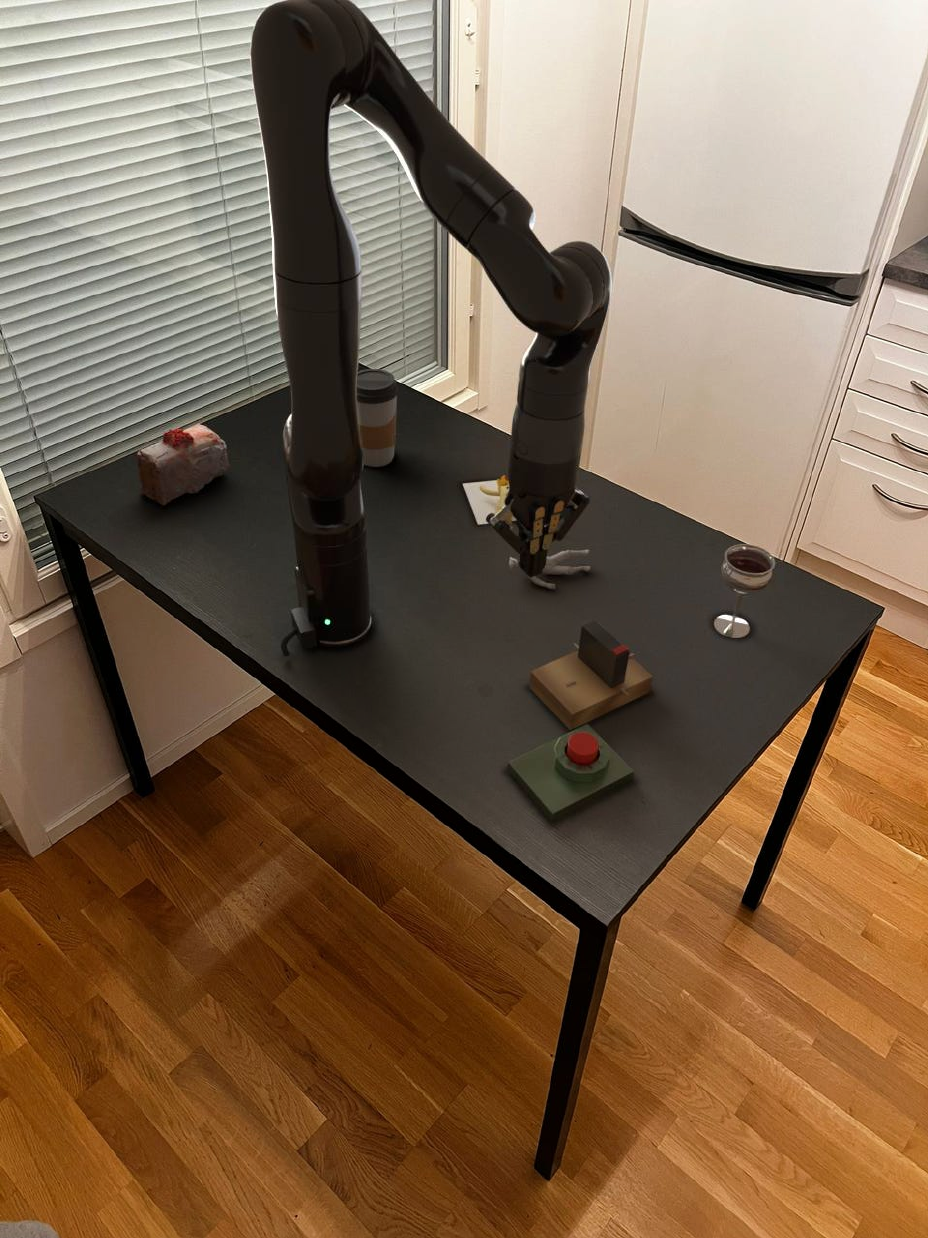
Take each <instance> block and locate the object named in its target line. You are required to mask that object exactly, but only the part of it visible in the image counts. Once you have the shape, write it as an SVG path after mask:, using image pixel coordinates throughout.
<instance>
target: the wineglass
mask: <svg viewBox="0 0 928 1238" xmlns="http://www.w3.org/2000/svg"><path fill="white" fill-rule="evenodd" d="M775 560H776V559H775V557H774V555H772V554H771V553H770V552H769V551H768V550H767V549H765V548H763V547H760V546H758V545H754V544H750V543H749V544H748V543H746V544H745V543H740V544H735V545H732V546H730V547H729V548H727V549H726V550H725V553H724V559H723V561H722V563H721V567H720V573H721V578H722V582H723V583H724V584H725V585H726V587H728V588H729V589H730V590H731V591H732V592H735V593H736V600H735V603H734V609H733V613H732V614H722V615H720V616H717V617H716V618H715V619H714V621H713V625H714V628H715V629H716V631H717V632H718V633H719V634H721V635H723V636H725V637H728V638H733V639H737V638H738V639H739V638H744V637H745V636H747V635H748V634H749V633H750V630H751V628H750V625H749V623H748V622H747V620H745V619H743V617H740V616H738V612H739V609H740V606H741V603H742V600H743V598H744V596H745V595H753V594H757V593H759V592H761V591H764V589H766V587H767V586H768V585H769V584H770V583H771V581H772V577H773V569H774V568H775V565H776V561H775Z"/></svg>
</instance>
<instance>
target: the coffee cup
mask: <svg viewBox="0 0 928 1238" xmlns="http://www.w3.org/2000/svg"><path fill="white" fill-rule="evenodd" d="M356 391H357V411H358V420H359V430H360V437H361V444H362V449H363V454H364V466H367V467H371V468H379V467H380V468H381V467H384V466H387V465H388V464H390V463H391V462H392V461H393V459H394V457H395V446H396V445H395V444H396V438H397V437H396V435H397V434H396V433H397V414H398V413H397V412H398V410H397V404H398V403H397V401H398V394H399V389H398V382H397V381H396V380H395V376H394V374H392V373H391V372H390V371H387V370H384V369H380V368H367V369H361V370H358V372H357V386H356Z"/></svg>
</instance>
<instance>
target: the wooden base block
mask: <svg viewBox="0 0 928 1238" xmlns="http://www.w3.org/2000/svg"><path fill="white" fill-rule="evenodd" d="M573 646H574V647H575V648H576V649H577V650H575V651H573V652H571V653H568V654H567V655H564V656H562V657H560V658H558V659H555V660H552V661H551V662H548V663H547V664H543V665H541V666H540V667H537V668H535V669H532V670H531V671H530V673H529V685H528V687H529V689H530V690H531V691H532V692H533V693H534V694H535V695H536V696H537V697H538V698H539V700H540V701H541V702H542V703H543V704H545V706H546V707H547V708H548V709H549V710H550V711H551V712H552V713H553V714H554V715H555V716H556V717H557V718H558V720H560V721H561V723H563V725H564V726H565V727H566V728H567V729H568V730H569V731H573V730H575V729H577V728H579V727H582V726H584V725H586V724H588V723H589V722H591V721H593V720H595V719H597V718H599V717H602V716H603V715H605V714H608V713H609V712H611V711H613V710H616V709H618V708H620V707H622V706H624V705H626V704H628V703H630V702H632V701H634V700H637V699H638V698H640V697H643V696H644V695H647V694H649V693H650V690H651V685H652V682H653V675H651V674H650V673H649V672H648V671H647V670H646V669H645V668H644V667H643V666H641V664H640V663H638V662H637V661H636V659H634V656H635V653H634V652H632V653H630V654H629V659H628V665H627V670H626V676H625V681H624V683H622V684H620V685H618V686H616V687H613V688H610V687H609V686H608V685H607V684H606V683H605V682H604V681H603V680H602V679H601V678H600V677H599V676H598V675H597V674H595V673H594V672H593V671H592V670H591V669H590V668H589V667H588V666H587V665H586V664H585V663H584V662H583V661H582V660H581V659H580V658H579V657H578V650H579V644H577V643H573Z"/></svg>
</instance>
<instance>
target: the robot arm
mask: <svg viewBox="0 0 928 1238" xmlns="http://www.w3.org/2000/svg"><path fill="white" fill-rule="evenodd" d="M249 55H250V69H251V77H252V86H253V87H252V88H253V93H254V99H255V100H254V101H255V105H256V111H257V118H258V124H259V130H260V136H261V142H262V149H263V154H264V164H265V170H266V171H265V172H266V179H267V193H268V203H269V216H270V226H271V227H270V228H271V239H272V240H271V243H272V273H273V286H274V287H273V288H274V302H275V311H276V318H277V322H278V323H277V325H278V331H279V336H280V343H281V349H282V353H283V359H284V363H285V366H286V372H287V377H288V383H289V389H290V399H291V400H290V401H291V413H290V415H289V416H288V418H287V419H286V421H285V424H284V426H283V429H282V448H283V456H284V465H285V472H286V480H287V490H288V491H287V493H288V500H289V506H290V507H289V508H290V516H291V521H292V530H293V538H294V545H295V554H296V563H297V566H295V567H294V577H295V587H296V595H297V603H298V604H297V605H298V607H296V608H293V609H290V616H291V624H292V629H291V630H290V631H289V632H288V633H286V634H285V636H284V637H283V639H282V640H281V643H280V650H281V652H282V654H283V657H288V656H290V655H291V654H290V651H289V649H288V643H289V642H290V641H291V639H293V637H295V636H296V638H297V640H298V642H299V644H300V647H301V649H302V650H307V649H310V648H313V647H317V646H321V647H326V648H346V647H350V646H353V645H355V644H357V643H359V642H360V641H362V640H364V638H366V637H367V635H368V634H369V633H370V631H371V630H372V629H371V628H372V616H371V615H372V614H371V603H370V602H371V601H370V585H369V566H368V565H369V563H368V547H367V546H368V545H367V531H366V530H367V529H366V527H367V526H366V510H365V501H364V496H363V488H362V480H361V477H362V474H363V471H364V467H365V465H364V454H363V449H362V444H361V437H360V430H359V420H358V411H357V391H356V386H357V372H358V371H359V359H360V347H361V345H360V344H361V327H362V326H361V325H362V324H361V323H362V305H363V303H362V301H363V287H362V286H363V280H362V279H363V278H362V277H363V275H362V274H363V270H362V269H363V268H362V263H363V262H362V252H361V247H360V243H359V240H358V237H357V234H356V231H355V229H354V226H353V224H352V222H351V220H350V218H349V216H348V214H347V212H346V209H345V208H344V206H343V204H342V202H341V200H340V197H339V195H338V192H337V190H336V186H335V183H334V180H333V175H332V165H331V148H330V147H331V146H330V145H331V144H330V143H331V141H330V123H331V113H332V110H334V109H336V108H339V107H342V106H345V107H346V108H348V109H349V110H351V111H352V112H354V113H355V114H357V115H358V116H359V117H361V118H362V119H363V120H365V121H366V122H367V123H368V124H370V125H371V126H372V127H373V128H374V129H376V131H377V132H378V133H380V135H381V136H382V137H383V138H384V139H385V140H386V142H387V143H388V144H389V145H390V147H391V148H392V150H393V151H394V153H395V154H396V156H397V158H398V159H399V162H400V163H401V165H402V166H403V169H404V172H405V174H406V176H407V178H408V180H409V182H410V184H411V186H412V188H413V190H414V192H415V194H416V196H417V197H418V199H419V200H420V202H421V204H422V205H423V206H424V208H425V209H426V211H427V213H429V214H430V215H431V217H432V218H433V219H434V220H435V221H436V222H437V223H438V224H439V225H440V226H441V227H442V228H443V229H444V230H445V231H446V232H447V233H448V234H449V235H451V237H452V238H453V239H455V240H456V241H457V242H458V243H459V244H460V245H461V246H462V247H463V248H464V249H465V250H466V251H467V252H468V253H469V254H470V255H472V256H473V257H474V258H475V259H476V260H477V261H478V262H479V264H480V265H481V267H482V269H483V271H484V273H485V274H486V276H487V277H488V279H489V281H490V283H491V284H492V285H493V287H494V288H495V290H496V292H497V293H498V295H499V296H500V297H501V299H502V301H503V302H504V303H505V305H506V307H507V308H508V309H509V311H510V312H511V314H512V315H513V316H514V317H515V319H517V320H518V321H519V322H520V323H521V324H522V325H523V326H525V328H527V329H529V330H530V331H532V332H534V333H535V335H534V337H533V339H532V340H531V342H530V343H529V345H528V347H527V348H526V349H525V350H524V352H523V355H522V357H521V359H520V365H519V371H518V380H517V381H518V382H517V392H516V404H515V407H514V412H513V415H512V421H511V422H512V423H511V432H510V441H509V442H510V444H509V453H508V454H509V456H508V465H507V475H508V480H509V491H508V494H507V495H506V497H505V501H504V503H505V506H504V507H503V508H502V510H501V511H500V512H499V513H498V514H497V515H495V514H494V513H490V514H488V515H487V517H486V522H487V523H488V525H489V526H490V527H491V528H492V529H493V530H494V531H495V532H496V533H497V534H498V535H499V536H500V537H501V538H502V539H503V540H504V541H505V542H506V543H507V544H508V545H509V546H510V547H511V548H512V549H513V550H514V551H515V552H516V553H517V554H519V559H518V560H519V561H518V567H519V569H520V570H521V571H522V572H523V571H524V572H525V573H526V574H527V575H528V576H529V577H530V578H531V577H534V576H536V577H537V576H539V575H540V574H541V575H543V574H542V571H543V569H544V567H545V565H546V559H547V556H548V551H549V550H548V549H550V548H551V546H552V543H553V542H555V541H558V542H560V541H562V540H563V539H564V538H565V537H566V535H567V533H568V532H570V530H571V528H572V527H573V526H574V524H575V523H576V522H577V520H578V519H579V517H580V516H581V515H582V513H583V512H584V510H585V509H586V508H587V506H588V505H589V504H590V501H591V499H590V497H588V496H587V495H586V494H585V493H584V492H582V491H581V490H580V489H579V488H577V487H576V485H577V484H578V478H579V472H580V471H579V470H580V465H581V463H580V462H581V457H582V450H583V444H584V443H583V442H584V436H585V427H586V415H585V414H586V404H587V403H586V402H587V396H588V389H589V382H590V371H591V365H592V362H593V358H594V356H595V353H596V350H597V347H598V345H599V341H600V338H601V335H602V331H603V328H604V325H605V322H606V319H607V315H608V313H609V312H608V311H609V308H610V304H611V296H612V288H613V287H612V285H613V284H612V282H613V281H612V272H611V269H610V265H609V263H608V260H607V257H605V255H604V254H603V252H602V251H601V250H600V249H599V248H598V247H596V246H595V245H593V244H592V243H589V242H586V241H583V240H573V241H568V242H565V243H563V244H560V245H558V247H555V248H554V249H553V250H551V251H548V250H547V248H546V247H545V246H544V245H543V243H542V242H541V241H540V239H539V238H538V237H537V235H536V234H535V233H534V231H533V229H534V226H535V223H536V212H535V209H534V206H532V204H531V203H530V201H529V200H528V199H527V198H526V197H525V196H524V195H523V194H522V193H521V192H520V191H519V190H518V189H517V188H516V187H515V186H514V185H513V184H512V183H511V182H510V181H509V180H508V179H507V178H506V177H505V176H503V174H502V173H500V172H499V170H497V169H496V167H494V166H493V164H491V163H490V162H489V161H488V160H486V159H485V157H484V156H482V155H481V154H480V153H479V151H477V150H476V149H475V148H474V147H473V146H472V144H470V142H469V141H467V140H466V138H465V137H464V136H463V135H462V134H461V133H460V131H458V130H457V128H455V126H454V125H453V124H452V123H451V122H450V121H449V119H447V117H446V115H444V114H443V112H442V111H441V110H440V109H439V107H438V106H437V105H436V104H435V103H434V101H433V100H432V99H431V98H430V96H429V95H428V94H427V93H426V91H425V90H424V89H423V87H422V86H421V85H420V84H419V83H418V81H417V80H416V78H415V77H414V76H413V75H412V74H411V72H410V71H409V70H408V68H407V67H406V65H404V64H403V62H402V60H401V59H400V58H399V56H397V54H396V52H395V51H394V50H393V49H392V47H391V46H390V45H389V43H388V41H387V40H386V39H385V38H384V37H383V35H382V34H381V32H380V31H379V30H378V29H377V28H376V26H375V25H374V23H372V21H371V20H370V18H369V17H368V16H367V15H366V14H365V13H364V12H363V11H362V10H361V8H359V7H358V6H357V5H356V4H355V3H354V2H353V1H351V0H282V1H277V2H275V3H272V4H271V5H269V6H267V7H266V8H264V9H263V10H262V12H260V14H259V16H258V17H257V19H256V21H255V24H254V26H253V29H252V33H251V41H250V54H249ZM512 515H513V516H514V517H515V519H516V521H515V523H516V527H517V529H518V535H516V534H515V532H513V531H512V530H513V529H514V526H513V523H514V521H512V520H511V518H512ZM562 518H563V522H561V524H560V526H559V523H560V521H561V520H562ZM524 572H523V573H524ZM541 575H540V576H541Z"/></svg>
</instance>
